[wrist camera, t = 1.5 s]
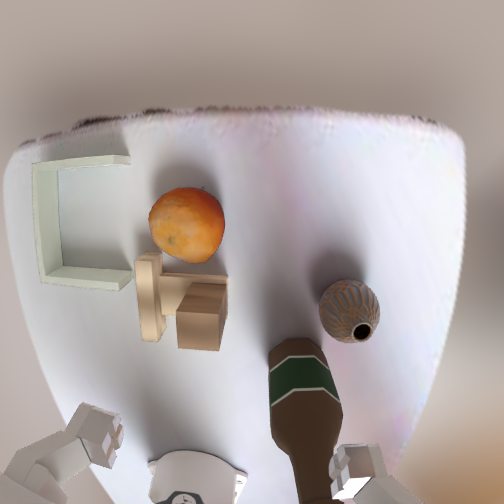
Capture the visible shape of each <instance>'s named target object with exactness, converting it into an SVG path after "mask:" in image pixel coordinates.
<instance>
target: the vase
mask: <svg viewBox="0 0 504 504" xmlns="http://www.w3.org/2000/svg"><path fill="white" fill-rule="evenodd" d="M319 316H320V320H321V323H322V325H323V327H324V329H325V330H326V331H327V333H328V334H329V335H330V336H332V337H333V338H334V339H336V340H338V341H340V342H344V343H357V342H364V341H366V340H368V339H369V338H370V337H371V336H372V334H373V332H374V330H375V329H376V327H377V325H378V322H379V318H380V307H379V303H378V300H377V297H376V296H375V294H374V293H373V291H372V290H371V289H370V288H369V287H368V286H366V285H365V284H364V283H362V282H360V281H357V280H352V279H344V280H340V281H337V282H335V283H333V284H332V285H330V286H329V287H328V288H327V289H326V291H325V292H324V293H323V295H322V297H321V300H320V304H319Z"/></svg>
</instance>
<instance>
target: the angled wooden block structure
mask: <svg viewBox="0 0 504 504" xmlns="http://www.w3.org/2000/svg"><path fill="white" fill-rule="evenodd" d="M135 273H136V286H137V297H138V307H139V316H140V324H141V332H142V340H143V341H152V342H158V341H159V340H160V338H161V336H162V334H163V332H164V331H165V329H166V315H171V316H176V325H177V339H178V348H183V349H195V350H208V351H219V348H220V344H221V339H222V334H223V330H224V325H225V320H226V319H227V315H228V276H223V275H202V274H183V273H165V272H163V267H162V252H145V253H144V254H143V255H141V256H140V257H139V258H137V259H136V260H135Z"/></svg>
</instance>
